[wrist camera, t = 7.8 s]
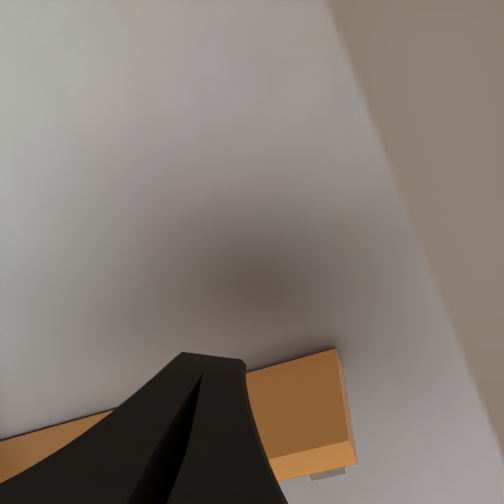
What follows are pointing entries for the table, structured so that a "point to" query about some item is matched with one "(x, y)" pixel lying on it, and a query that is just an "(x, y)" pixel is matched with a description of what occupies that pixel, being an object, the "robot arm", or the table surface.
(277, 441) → the side door
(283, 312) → the table surface
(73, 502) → the robot arm
